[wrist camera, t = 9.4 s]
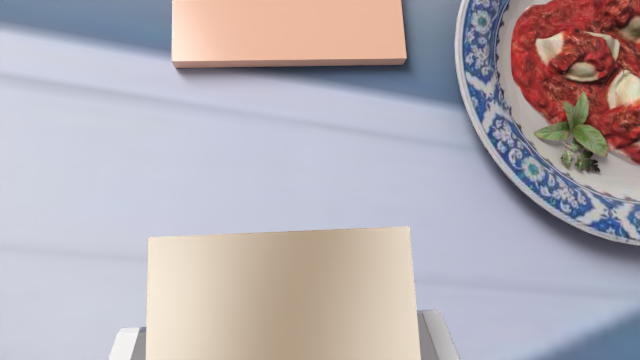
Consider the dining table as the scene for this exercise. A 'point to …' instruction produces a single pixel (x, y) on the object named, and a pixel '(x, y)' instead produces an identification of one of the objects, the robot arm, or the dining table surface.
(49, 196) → the dining table surface
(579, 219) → the ceramic plate
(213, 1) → the terracotta tile
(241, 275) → the ash block
